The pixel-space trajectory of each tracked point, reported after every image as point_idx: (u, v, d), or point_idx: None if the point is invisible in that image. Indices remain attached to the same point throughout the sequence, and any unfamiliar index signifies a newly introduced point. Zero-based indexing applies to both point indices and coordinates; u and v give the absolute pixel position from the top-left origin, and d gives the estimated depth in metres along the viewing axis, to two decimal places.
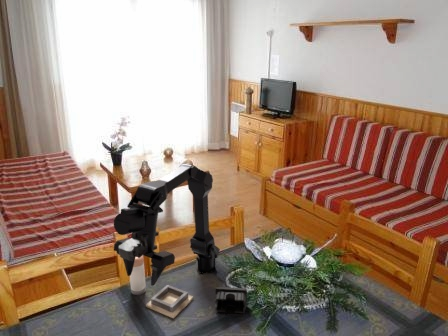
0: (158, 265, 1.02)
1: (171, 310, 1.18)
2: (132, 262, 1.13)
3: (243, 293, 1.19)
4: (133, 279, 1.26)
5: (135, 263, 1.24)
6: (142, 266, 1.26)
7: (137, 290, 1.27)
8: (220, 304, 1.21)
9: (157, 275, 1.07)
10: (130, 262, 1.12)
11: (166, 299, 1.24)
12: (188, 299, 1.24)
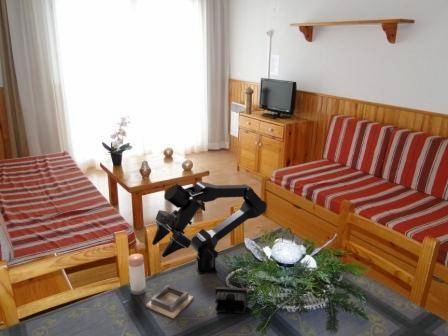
0: (175, 238, 1.22)
1: (171, 310, 1.18)
2: (161, 236, 1.35)
3: (243, 293, 1.19)
4: (133, 279, 1.26)
5: (135, 263, 1.24)
6: (142, 266, 1.26)
7: (137, 290, 1.27)
8: (220, 304, 1.21)
9: (170, 250, 1.26)
10: (160, 235, 1.34)
11: (166, 299, 1.24)
12: (188, 299, 1.24)
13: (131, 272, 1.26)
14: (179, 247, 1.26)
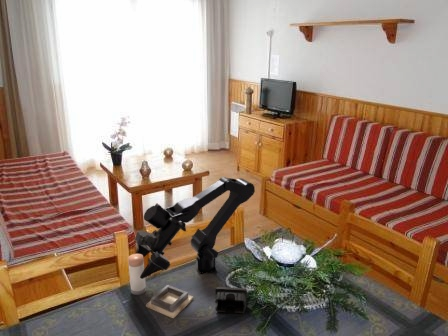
0: (153, 260, 1.20)
1: (171, 310, 1.18)
2: None
3: (243, 293, 1.19)
4: (133, 279, 1.26)
5: (135, 263, 1.24)
6: (142, 266, 1.26)
7: (137, 290, 1.27)
8: (220, 304, 1.21)
9: (148, 272, 1.24)
10: None
11: (166, 299, 1.24)
12: (188, 299, 1.24)
13: (131, 272, 1.26)
14: (158, 269, 1.24)
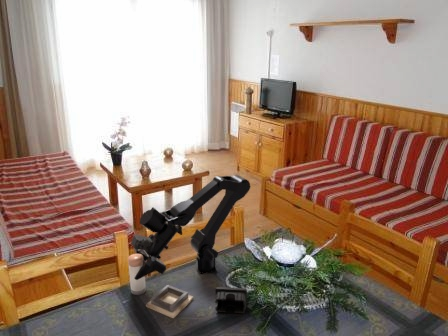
0: (149, 264, 1.20)
1: (171, 310, 1.18)
2: None
3: (243, 293, 1.19)
4: (133, 279, 1.26)
5: (135, 263, 1.24)
6: None
7: (136, 290, 1.27)
8: (220, 304, 1.21)
9: (143, 273, 1.25)
10: None
11: (166, 299, 1.24)
12: (188, 299, 1.24)
13: (131, 272, 1.26)
14: (152, 270, 1.25)
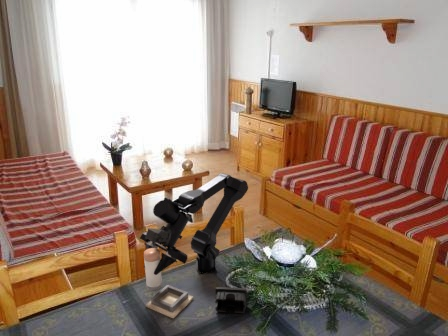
0: (172, 255, 1.16)
1: (171, 310, 1.18)
2: None
3: (243, 293, 1.19)
4: (151, 275, 1.20)
5: (154, 257, 1.18)
6: (159, 260, 1.21)
7: (155, 286, 1.22)
8: (220, 304, 1.21)
9: (162, 266, 1.20)
10: None
11: (166, 299, 1.24)
12: (188, 299, 1.24)
13: (149, 268, 1.19)
14: (171, 262, 1.21)
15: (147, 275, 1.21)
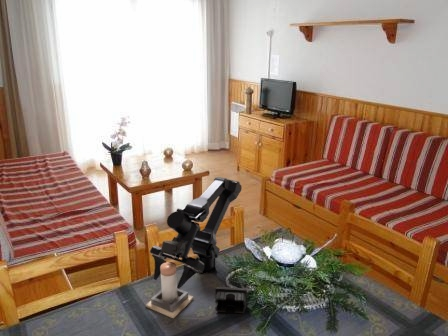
0: (192, 265, 1.17)
1: (171, 310, 1.18)
2: None
3: (243, 293, 1.19)
4: (169, 289, 1.20)
5: (172, 271, 1.18)
6: (176, 273, 1.21)
7: (173, 300, 1.21)
8: (220, 304, 1.21)
9: (185, 279, 1.19)
10: (159, 268, 1.24)
11: None
12: (188, 299, 1.24)
13: (167, 282, 1.19)
14: (192, 274, 1.21)
15: (165, 290, 1.20)
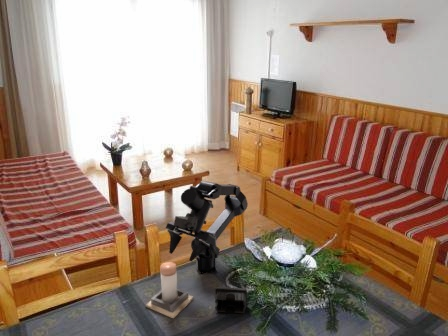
0: (203, 238, 1.22)
1: (171, 310, 1.18)
2: (176, 243, 1.32)
3: (243, 293, 1.19)
4: (169, 289, 1.20)
5: (172, 271, 1.18)
6: (176, 273, 1.21)
7: (173, 300, 1.21)
8: (220, 304, 1.21)
9: (197, 252, 1.25)
10: (175, 242, 1.31)
11: None
12: (188, 299, 1.24)
13: (167, 282, 1.19)
14: (204, 247, 1.26)
15: (165, 290, 1.20)
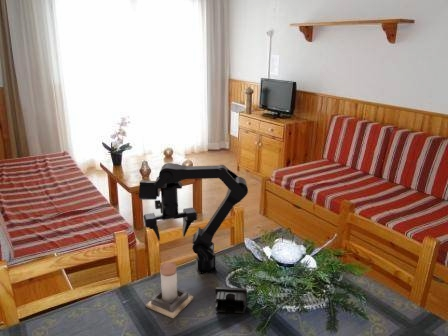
0: None
1: (171, 310, 1.18)
2: (184, 228, 1.38)
3: (243, 293, 1.19)
4: (169, 289, 1.20)
5: (172, 271, 1.18)
6: (176, 273, 1.21)
7: (173, 300, 1.21)
8: (220, 304, 1.21)
9: None
10: (183, 226, 1.39)
11: None
12: (188, 299, 1.24)
13: (167, 282, 1.19)
14: None
15: (165, 290, 1.20)
